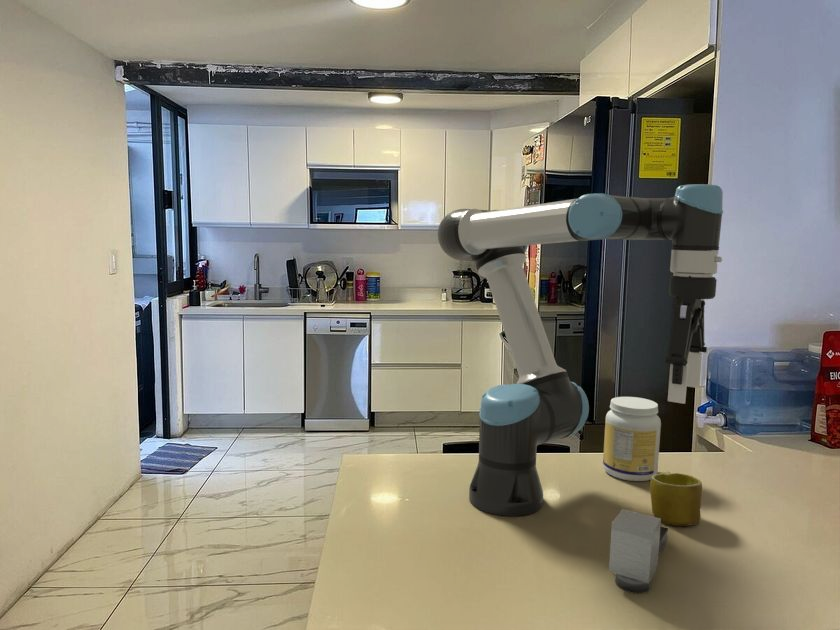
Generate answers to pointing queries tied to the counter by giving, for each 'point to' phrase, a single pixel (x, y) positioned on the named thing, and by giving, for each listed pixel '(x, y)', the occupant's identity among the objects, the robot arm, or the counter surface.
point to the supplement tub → (632, 439)
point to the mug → (676, 498)
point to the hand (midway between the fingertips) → (684, 394)
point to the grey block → (634, 545)
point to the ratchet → (637, 585)
